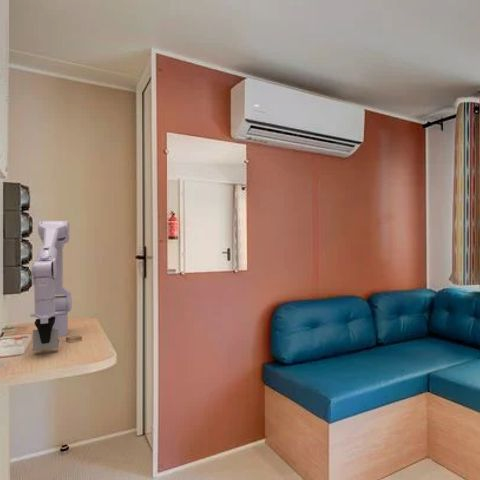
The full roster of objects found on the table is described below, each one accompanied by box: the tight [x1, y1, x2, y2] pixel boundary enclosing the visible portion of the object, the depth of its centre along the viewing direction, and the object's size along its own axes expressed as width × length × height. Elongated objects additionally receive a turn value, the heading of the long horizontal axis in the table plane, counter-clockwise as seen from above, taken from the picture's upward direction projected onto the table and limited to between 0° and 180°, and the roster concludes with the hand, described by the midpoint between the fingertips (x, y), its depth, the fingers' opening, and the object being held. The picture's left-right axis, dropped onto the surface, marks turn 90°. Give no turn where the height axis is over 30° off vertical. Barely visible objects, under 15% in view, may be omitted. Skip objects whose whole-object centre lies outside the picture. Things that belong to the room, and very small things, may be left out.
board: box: [32, 328, 59, 352], centre depth 115 cm, size 2×7×6 cm, turn 116°
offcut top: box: [65, 333, 83, 344], centre depth 128 cm, size 4×4×2 cm
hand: (45, 341), depth 115 cm, fingers closed on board, 2 cm apart
